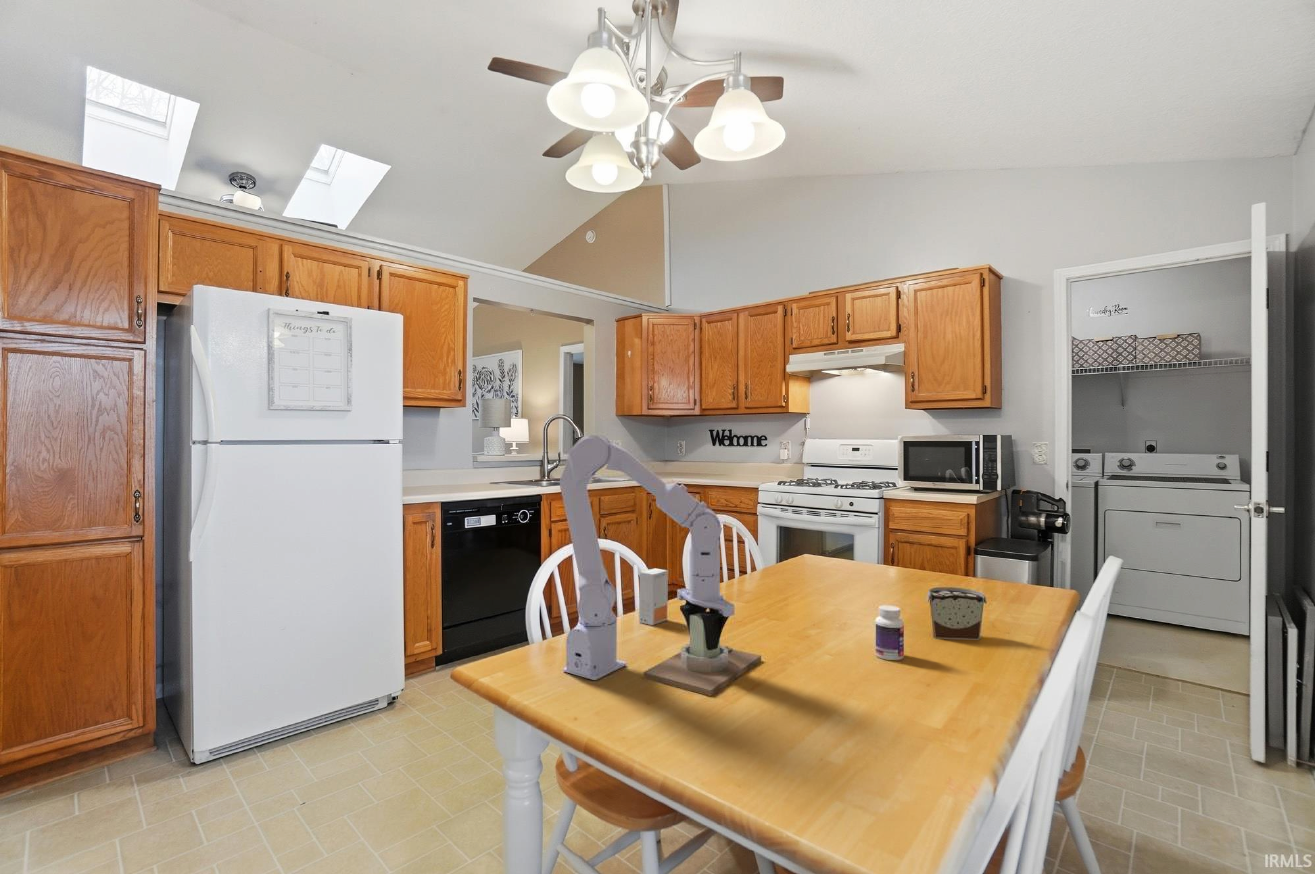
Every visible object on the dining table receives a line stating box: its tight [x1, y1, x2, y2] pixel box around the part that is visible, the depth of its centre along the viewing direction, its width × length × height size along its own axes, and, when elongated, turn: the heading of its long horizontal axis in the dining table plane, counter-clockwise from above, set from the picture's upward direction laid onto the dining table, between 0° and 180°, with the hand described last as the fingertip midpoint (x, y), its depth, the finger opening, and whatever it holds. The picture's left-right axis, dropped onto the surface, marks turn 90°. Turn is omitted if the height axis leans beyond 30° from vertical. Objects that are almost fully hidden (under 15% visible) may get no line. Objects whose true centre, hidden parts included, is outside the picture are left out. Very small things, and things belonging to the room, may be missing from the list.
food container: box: [926, 586, 987, 641], centre depth 135 cm, size 12×6×10 cm, turn 84°
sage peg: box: [689, 613, 721, 657], centre depth 115 cm, size 4×4×8 cm
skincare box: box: [638, 567, 669, 626], centre depth 145 cm, size 6×4×12 cm
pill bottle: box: [874, 604, 905, 661], centre depth 122 cm, size 5×5×10 cm
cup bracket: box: [642, 643, 762, 697], centre depth 115 cm, size 20×14×4 cm
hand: (704, 645), depth 115 cm, fingers closed on sage peg, 4 cm apart
